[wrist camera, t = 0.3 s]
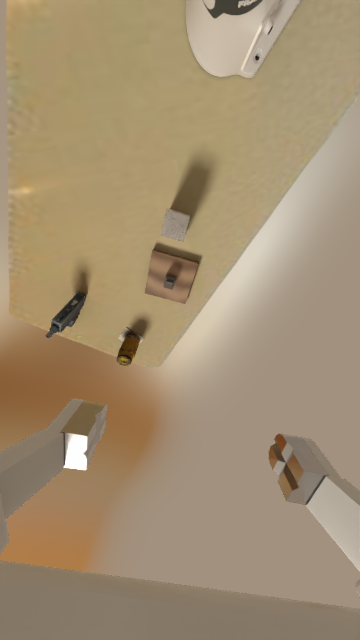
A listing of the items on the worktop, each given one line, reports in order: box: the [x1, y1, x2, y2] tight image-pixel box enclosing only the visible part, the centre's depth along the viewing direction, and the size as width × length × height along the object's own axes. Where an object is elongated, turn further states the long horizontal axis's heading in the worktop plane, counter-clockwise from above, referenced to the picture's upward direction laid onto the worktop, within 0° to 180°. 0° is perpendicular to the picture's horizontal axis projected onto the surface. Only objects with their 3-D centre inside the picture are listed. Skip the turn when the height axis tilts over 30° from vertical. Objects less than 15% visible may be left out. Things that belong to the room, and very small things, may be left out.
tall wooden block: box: [161, 209, 190, 242], centre depth 44 cm, size 5×5×10 cm
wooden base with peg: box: [145, 249, 198, 304], centre depth 54 cm, size 14×14×7 cm
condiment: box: [117, 328, 144, 366], centre depth 66 cm, size 7×8×12 cm
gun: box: [46, 292, 86, 338], centre depth 58 cm, size 3×17×15 cm
